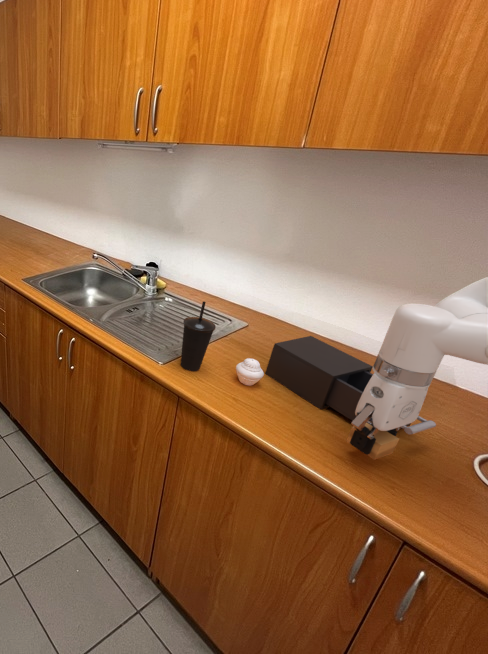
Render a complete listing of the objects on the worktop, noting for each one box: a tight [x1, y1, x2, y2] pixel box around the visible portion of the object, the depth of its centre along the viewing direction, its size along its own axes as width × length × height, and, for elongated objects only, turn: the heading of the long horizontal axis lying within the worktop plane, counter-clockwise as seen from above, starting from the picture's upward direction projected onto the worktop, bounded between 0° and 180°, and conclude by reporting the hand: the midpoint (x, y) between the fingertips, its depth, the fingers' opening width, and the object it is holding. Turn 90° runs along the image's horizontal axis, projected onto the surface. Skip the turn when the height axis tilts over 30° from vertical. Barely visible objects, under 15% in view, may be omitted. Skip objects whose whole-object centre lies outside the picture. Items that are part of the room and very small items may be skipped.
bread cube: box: [346, 423, 400, 460], centre depth 78 cm, size 5×5×4 cm
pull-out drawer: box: [325, 371, 437, 436], centre depth 88 cm, size 18×11×8 cm, turn 16°
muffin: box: [235, 357, 265, 387], centre depth 102 cm, size 6×6×7 cm
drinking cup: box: [180, 301, 217, 372], centre depth 106 cm, size 8×8×20 cm
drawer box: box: [264, 335, 373, 410], centre depth 99 cm, size 15×13×10 cm
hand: (370, 444), depth 79 cm, fingers closed on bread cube, 5 cm apart
